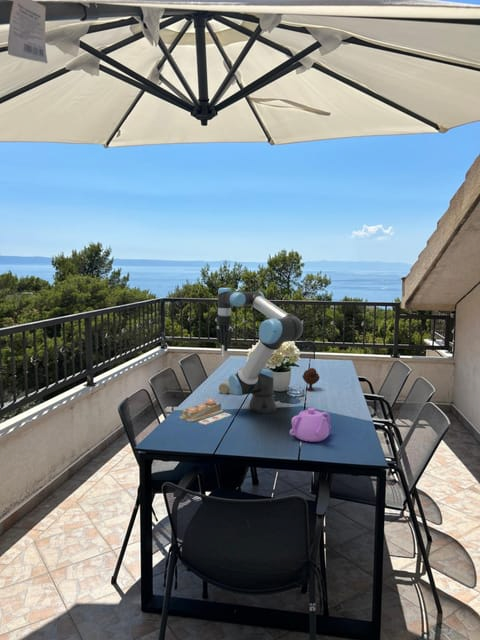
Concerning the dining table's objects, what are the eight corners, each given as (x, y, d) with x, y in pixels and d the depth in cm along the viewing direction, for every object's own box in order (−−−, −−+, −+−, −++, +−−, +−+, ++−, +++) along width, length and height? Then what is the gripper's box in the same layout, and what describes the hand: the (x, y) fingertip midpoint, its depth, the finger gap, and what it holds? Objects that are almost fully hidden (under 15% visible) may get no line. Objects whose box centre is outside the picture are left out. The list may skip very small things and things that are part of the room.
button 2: (216, 405, 251) (216, 399, 251) (210, 407, 248) (210, 401, 248) (210, 404, 254) (210, 397, 254) (204, 405, 251) (204, 399, 251)
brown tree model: (321, 389, 302) (322, 367, 300) (314, 393, 292) (315, 370, 291) (306, 387, 307) (307, 365, 306) (299, 390, 298) (300, 368, 296)
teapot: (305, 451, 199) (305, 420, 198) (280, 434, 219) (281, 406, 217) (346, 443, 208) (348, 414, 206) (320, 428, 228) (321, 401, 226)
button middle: (207, 411, 246) (207, 405, 246) (201, 413, 243) (201, 407, 242) (201, 410, 249) (201, 403, 249) (195, 412, 246) (195, 405, 245)
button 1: (198, 414, 241) (198, 408, 241) (192, 416, 238) (192, 410, 237) (192, 413, 244) (192, 406, 244) (185, 415, 241) (185, 408, 240)
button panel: (223, 412, 252) (223, 404, 251) (192, 422, 234) (192, 413, 234) (209, 408, 258) (209, 400, 258) (179, 418, 241) (179, 409, 240)
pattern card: (231, 415, 246) (231, 414, 246) (205, 424, 231) (205, 423, 231) (224, 413, 249) (224, 412, 249) (198, 422, 234) (198, 421, 234)
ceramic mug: (217, 393, 289) (218, 381, 288) (223, 390, 296) (223, 378, 296) (233, 395, 285) (233, 383, 284) (238, 392, 293) (238, 380, 292)
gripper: (237, 315, 259) (237, 356, 261) (220, 313, 267) (220, 354, 269) (228, 316, 253) (228, 358, 255) (211, 314, 261) (211, 355, 264)
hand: (224, 356), depth 262 cm, fingers closed
